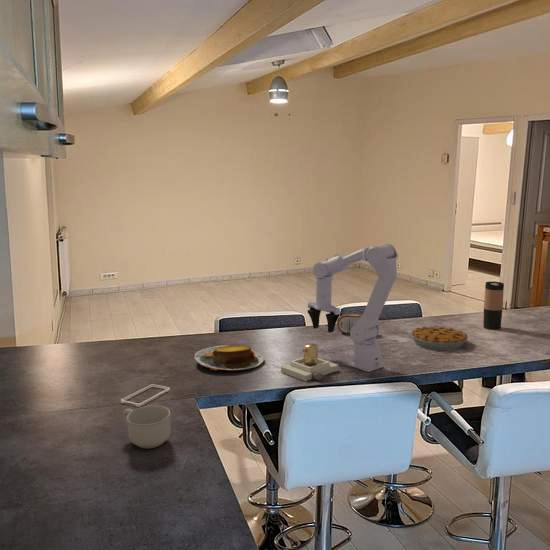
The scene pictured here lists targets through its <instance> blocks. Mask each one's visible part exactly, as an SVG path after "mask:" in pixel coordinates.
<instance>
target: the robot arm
mask: <svg viewBox="0 0 550 550" xmlns="http://www.w3.org/2000/svg"><path fill="white" fill-rule="evenodd" d="M333 256H334V257H331V258H324V261H322V262H321V261H319V262H316V263H315V264H314V265H313V266H312V273H313V275H314V277H315V302H312V301H310V302H308V303H307V313H308V316H309V317H310V320H311V324H312V327H313V329H318V328H320V327H319V326H320V317H321V314H322V313H321V312H325V313H326V314H325V318H326V320H327V332H328V333H329V334H330V333H334V331H335V327H336V325H337V320H338V318H339V317H340V316H341V308H338V307H336V306H333V304H332V286H333V285H332V282H333V277H334V275H336V274H338V273H342V272H343V271H346V270H348V269H349V266H350V265H352V264H355V263H357V262H361V261H364V262H368V263H369V264H370V266H371V267H372V269H373V270H374V271H375V272H376V274H377V275H378V277H377V280H376V281H375V284H374V287H373V289H372V292H371V294H370V297H369V300H368V301H367V303H366V306H365V309H364V311H363V313H362V314H363V315H362V316H361V317H360V318H359V320H358V321H357V322H356V324H355V326H353V327H352V328H351V330H350V338H351V340H352V342H353V362H350V363H348V366H349V367H353V368H355V369H358V370H362V371H365V372H368V373H370V372H372V371H376V370H378V369H381V368H383V367H384V366H383V362H382V360H383V358H382V357H383V350H382V347H381V345H379V344H377V343H376V338H377V337H378V336H379V333H380V324H381V321H380V319H379V318H380V316H381V313H382V311H383V309H384V306H385V304H386V301H387V299H388V297H389V294H390V292H391V290H392V288H393V286H394V283H395V280H396V278H397V276H398V275H397V274H398V273H397V272H398V271H397V259H398V256H399V254H398V252H397V250H396V248H395V247H394V245H392V244H390V243H384V244H381V245H380V244H379V245H373V246H370V247H369V246H368V247H364V248H361V249H358V250H357V251H355V252H352V253H350V254H348V255H344V254H340V253H337V254H334V255H333Z"/></svg>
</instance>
